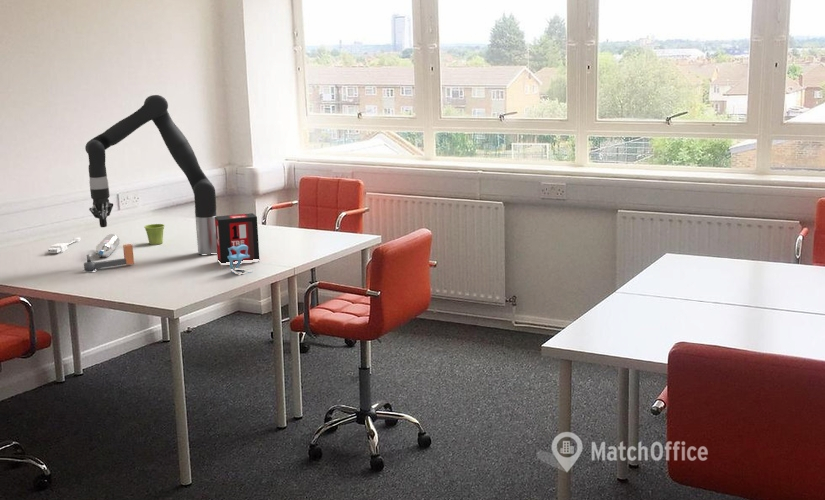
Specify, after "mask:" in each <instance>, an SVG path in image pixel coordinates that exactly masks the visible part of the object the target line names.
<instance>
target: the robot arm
mask: <svg viewBox="0 0 825 500" xmlns="http://www.w3.org/2000/svg"><path fill="white" fill-rule="evenodd" d="M168 109H169V103H168V100H167V99H166V98H165V97H163V96H162V95H159V94H153V95H152V94H151V95H149V96H147V97H146V99H145V100H144V102H143V105H141V107H140V108H139V109H137V110H136V111H134V112H133V113H131V114H130V115H128V116H126V117H124V118H123V119H121V120H119V121H118V122H116V123H115V124H113V125H112V126H110V127H109V128H107V129H105V131H103V132H101V133H100V134H98V135H96V136H95V137H93V138H92V139H90V140H89V141H87V142H86V143H85V144H86V145H85V146H84V147H85V152H86V154H87V157H88V163H89V164H88V176H89V180H88V181H89V189H90V190H89V191H90V198H91V199H92V206H91V207H89V209H88V210H89V212H91V214H92V216H93V217H94V218H95V219H98V221H99V227H100V228H107V226H108V223H107V220H108V217H110V215H111V213H112V210H113V207H114V203H111V202H110V200H109V198H110V187H109V180H108V175H107V167H106V150H108V149H109V148H110V147H112V146H115V145H117V144H119V143H120V142H122V141H123V140H124V139H126V138H128V137H129V136H130V135H131V134H132V133H134V132H135V131H136V130H138V129H139V128H140V127H142V126H144V125H145V124H147V123H149V122H150V121H152V122H153V124H154V125H155V126H156V128H157V130H158V131H159V134H160V135H161V138H162V140H163V142H164V144H165V146H166V149H167V150H168V152H169V153H170V156H171V157H172V158H173V160H174V162H175V163H176V164H177V166H178V167H179V169H180V170H181V171H182V172H183V173H184V175H185V176H186V179H187V181H188V182H189V185H190V186H191V189H192V192H193V195H194V214H195V215H194V217H195V228H196V229H195V230H196V240H197V241H196V243H197V254H198V253H199V254H211V253H217V242H216V228H215V216H217V199H216V198H217V196H216V195H217V194H216V189H215V188H216V187H215V186H214V184H213V183H212V182H211V181H210V180H209V178H208V177H207V176H206V174H205V173H204V171H203V170H202V168H201V167H200V163H199V161H198V159H197V156H196V154H195V151H194V150H193V148H192V146H191V144H190V142H189V140H188V139H187V137H186V136H185V135H184V134H183V132H182V131H181V130H180V128H179V127H178V126H177V125H176V123H175V122H174V121H173V119H172V118H171V117H172V116H171V115H170V113H169V110H168ZM199 254H198V255H199Z"/></svg>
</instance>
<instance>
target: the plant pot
mask: <svg viewBox="0 0 825 500" xmlns="http://www.w3.org/2000/svg"><path fill="white" fill-rule="evenodd" d="M165 226H166V225H165V224H163V223H162V224H161V223H153V224H152V223H151V224H148V225H145V226H143V228H144V229H145V231H146V234H147V235H146V236H147V239H148V244H149V245H151V246H154V245H155V246H157V245H161V244H163V242H164V241H163V240H164V239H163V238H164V229H165Z"/></svg>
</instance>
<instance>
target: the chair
mask: <svg viewBox="0 0 825 500" xmlns="http://www.w3.org/2000/svg"><path fill="white" fill-rule="evenodd" d="M231 249H233V250H235V251H236V252H237V254H235V255H232V253H231V251H230V250H231ZM228 250H229V253H230V254H229V256H227V257H228V259H229V262H230V265H229V267H230V269H233V270H234V265H233V260H239V261H238V263H237V264H236V265H235V267H236V268H239V267H240V265H241V264H240V263H241V261H242V259H244V258H249V257H250V255H248V254H247V251H248V246H246V245H244V244H241V245H239V246H238V247H236V246H232V247H230V248H228ZM241 250H246V252H245V254H246V255H245V254H241V253H240V251H241Z"/></svg>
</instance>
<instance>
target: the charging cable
mask: <svg viewBox="0 0 825 500" xmlns="http://www.w3.org/2000/svg"><path fill="white" fill-rule="evenodd" d="M81 239H82V238H81V237H74V238H73V239H72V241H69V242H68V243H67V242H66V243H65V242H64V243H61V242H60V243H59V242H58V243H55V244H52V245H50V248H48V249H47V253H48V254H63V253H64V252H66V251H67V249H68V246H69V245H71V244H72V243H75V242H77V241H79V242H81V241H80V240H81ZM77 243H78V242H77ZM65 250H66V251H65Z"/></svg>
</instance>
